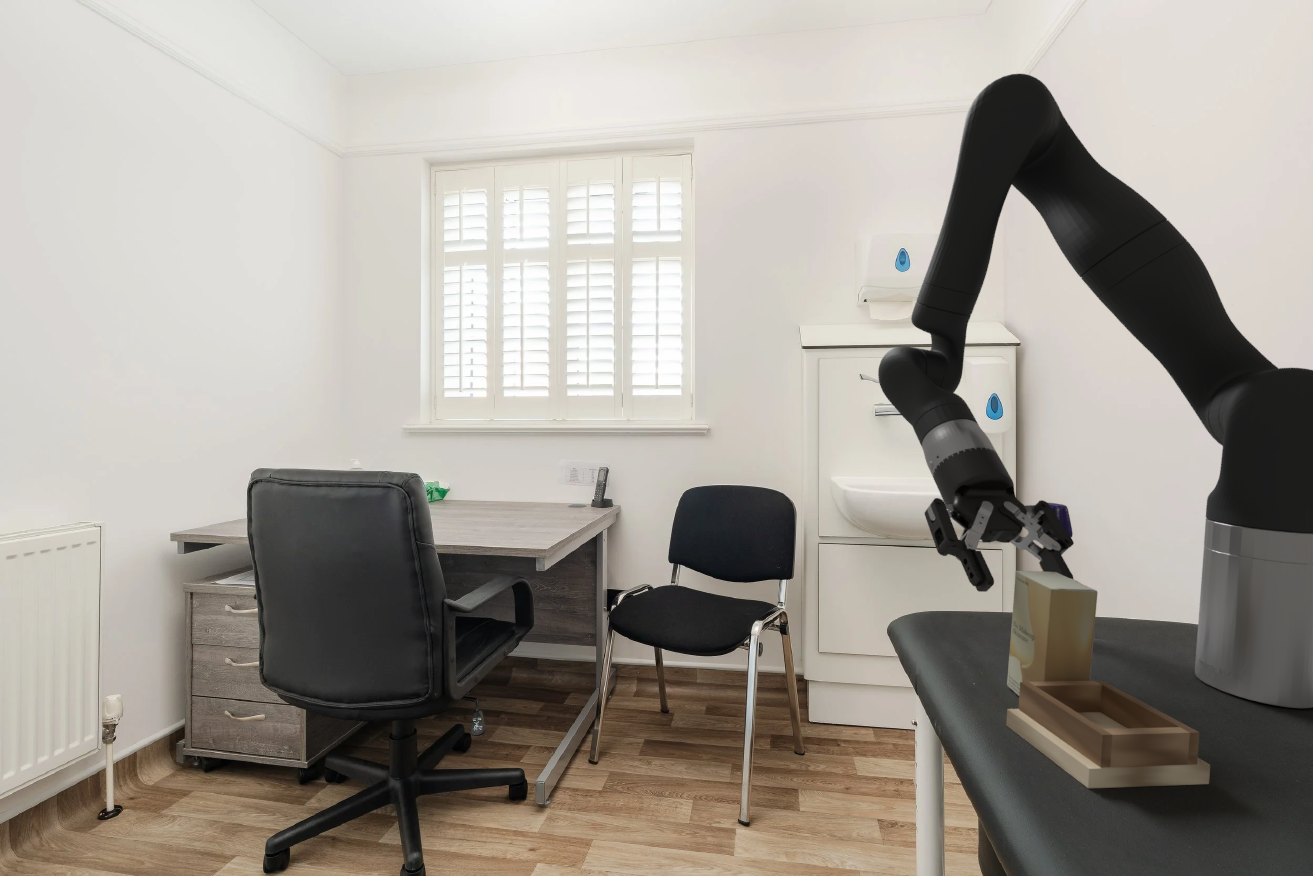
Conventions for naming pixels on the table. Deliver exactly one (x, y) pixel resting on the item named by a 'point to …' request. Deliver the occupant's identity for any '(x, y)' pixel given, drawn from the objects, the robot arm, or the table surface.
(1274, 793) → the table surface
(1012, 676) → the skincare box
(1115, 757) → the wooden tray
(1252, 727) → the table surface
